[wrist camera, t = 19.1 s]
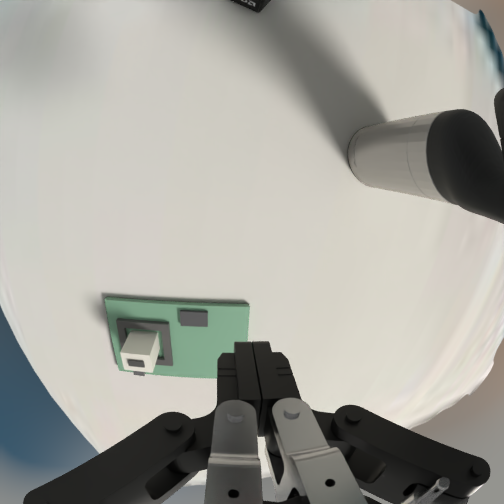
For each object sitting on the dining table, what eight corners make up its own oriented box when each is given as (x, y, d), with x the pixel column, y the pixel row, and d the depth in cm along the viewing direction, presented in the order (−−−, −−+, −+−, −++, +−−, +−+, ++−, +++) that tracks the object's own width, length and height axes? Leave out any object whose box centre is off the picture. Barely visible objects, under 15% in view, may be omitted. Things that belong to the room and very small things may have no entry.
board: (249, 303, 41) (250, 309, 39) (244, 374, 45) (245, 381, 43) (106, 296, 38) (102, 301, 37) (120, 367, 42) (117, 373, 41)
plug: (157, 332, 40) (149, 356, 34) (160, 352, 41) (153, 378, 35) (131, 330, 39) (119, 353, 33) (134, 350, 40) (124, 374, 34)
